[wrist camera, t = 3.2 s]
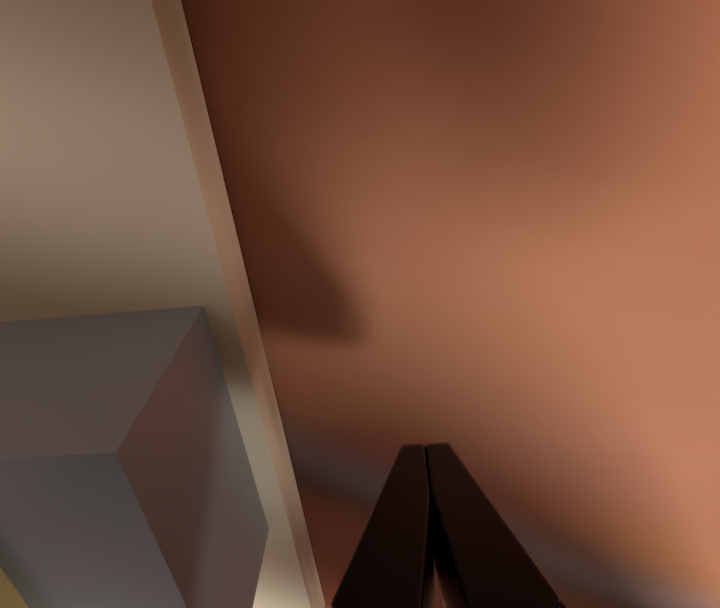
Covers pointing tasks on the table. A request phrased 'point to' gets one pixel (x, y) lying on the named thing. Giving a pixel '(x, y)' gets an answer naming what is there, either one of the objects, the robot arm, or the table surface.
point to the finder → (123, 467)
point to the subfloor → (136, 216)
